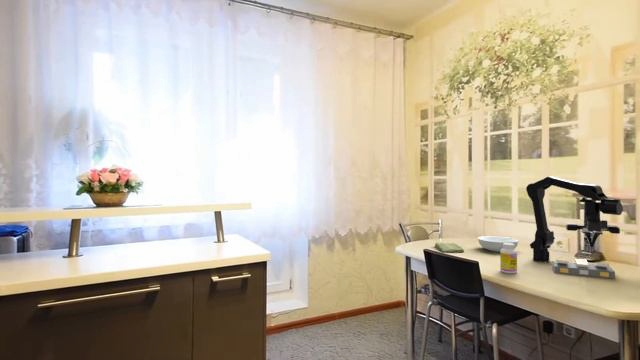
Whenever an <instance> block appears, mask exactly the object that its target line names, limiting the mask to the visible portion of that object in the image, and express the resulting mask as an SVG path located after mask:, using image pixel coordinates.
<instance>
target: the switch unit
mask: <svg viewBox="0 0 640 360" xmlns="http://www.w3.org/2000/svg"><path fill="white" fill-rule="evenodd" d="M551 262H552V263H551V264H552V265H551V267H552V270H553V272H554V273H555V274H562V275H563V274H564V275H574V276H575V275H576V276H581V277H593V278H605V279H612V280H614V279H616V272H615V270H613V268H612V267H610V265H609V267H604V266H595V264H592V263H591V264H589V263H588V265H589V267H578V266H577V265H576V262H569V264H566V263H558V262H557V260H552V261H551Z"/></svg>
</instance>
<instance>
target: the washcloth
mask: <svg viewBox="0 0 640 360" xmlns="http://www.w3.org/2000/svg"><path fill="white" fill-rule="evenodd" d="M434 247H435V248H436V249H437V250H439V251H441V252H442V253H444V252H446V253H465V249H464V248H463V247H462V246H460V245H458V244H457V243H455V242H453V243H452V242H451V243H450V242H447V243H446V242H435V243H434Z"/></svg>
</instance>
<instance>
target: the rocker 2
mask: <svg viewBox="0 0 640 360" xmlns="http://www.w3.org/2000/svg"><path fill="white" fill-rule="evenodd" d="M574 263H576V265H577V266H578V267H589V265H588V264H589V262H588V261H587V259H584V258H575V259H574Z"/></svg>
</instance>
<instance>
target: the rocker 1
mask: <svg viewBox="0 0 640 360" xmlns="http://www.w3.org/2000/svg"><path fill="white" fill-rule="evenodd" d="M556 261H557V262H558V263H566V264H569V263H570V261H569V260H568V259H563V258H556Z"/></svg>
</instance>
